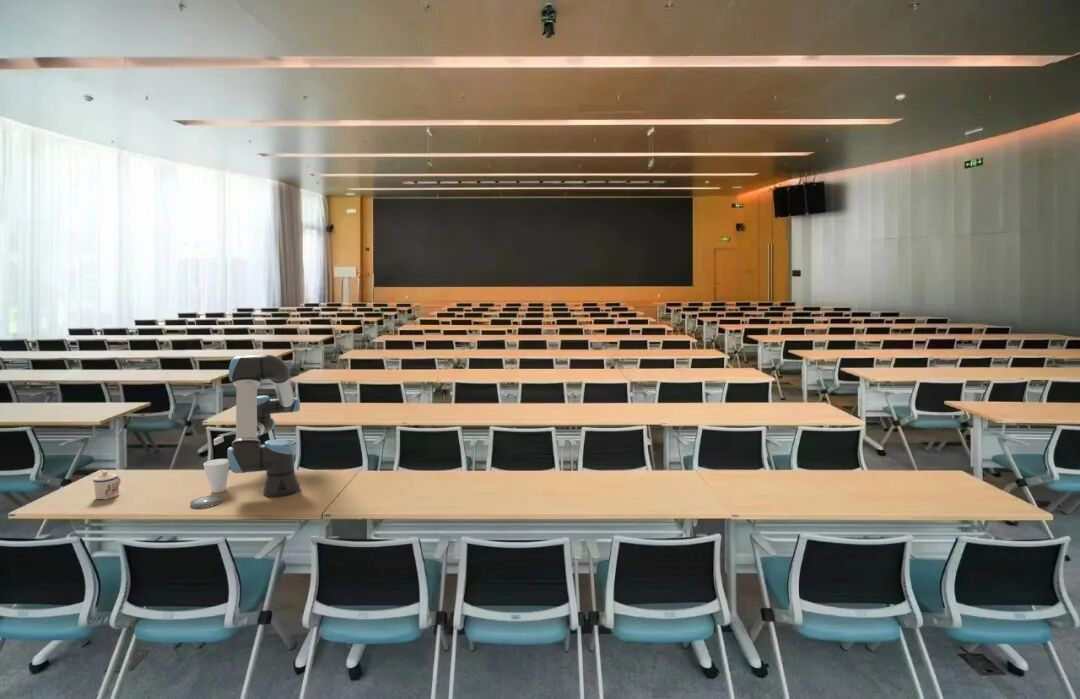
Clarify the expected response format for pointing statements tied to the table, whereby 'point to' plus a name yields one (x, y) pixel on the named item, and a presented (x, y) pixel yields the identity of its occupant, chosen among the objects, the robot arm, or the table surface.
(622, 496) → the table surface
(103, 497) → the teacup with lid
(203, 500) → the plate
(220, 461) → the cup
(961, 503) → the table surface
